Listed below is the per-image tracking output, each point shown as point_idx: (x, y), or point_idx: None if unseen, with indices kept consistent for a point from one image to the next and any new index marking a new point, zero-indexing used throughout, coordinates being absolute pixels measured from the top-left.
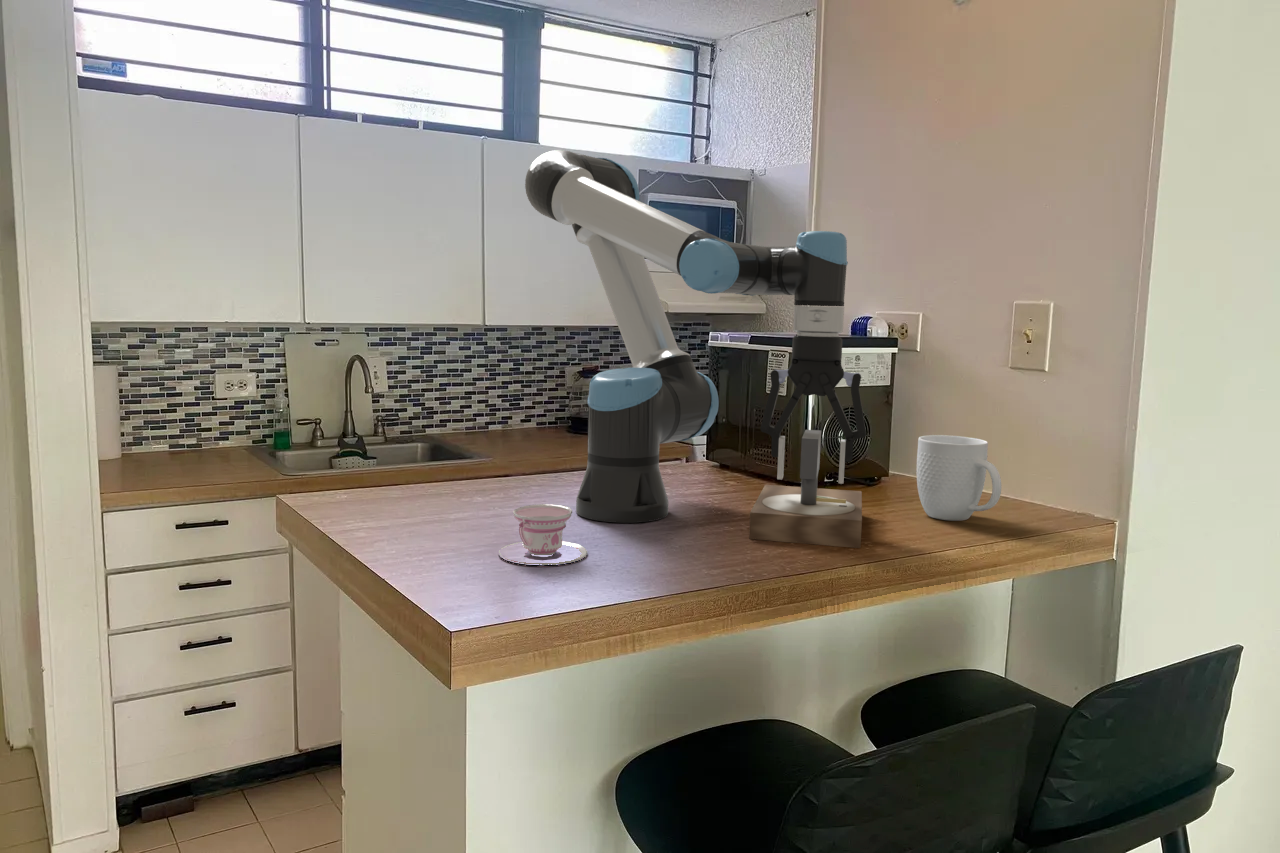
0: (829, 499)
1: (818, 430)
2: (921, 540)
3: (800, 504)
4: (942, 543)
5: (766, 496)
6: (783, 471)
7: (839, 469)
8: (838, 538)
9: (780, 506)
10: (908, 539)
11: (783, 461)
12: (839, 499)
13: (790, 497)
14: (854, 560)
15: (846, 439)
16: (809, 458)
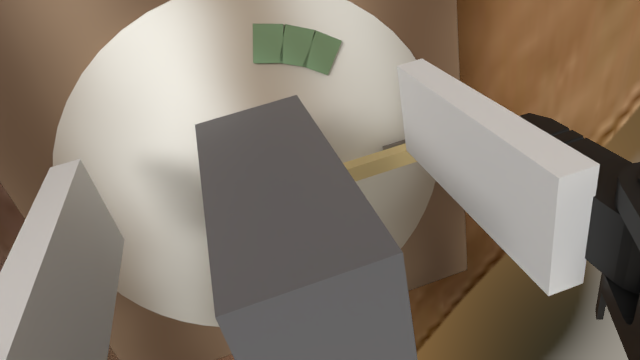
0: (356, 180)
1: (372, 268)
2: (584, 45)
3: None
4: (633, 45)
5: (18, 138)
6: (78, 182)
7: (441, 182)
8: None
9: (192, 286)
10: (550, 55)
11: (84, 255)
12: (394, 163)
13: (146, 117)
14: (425, 311)
15: (602, 317)
16: None
